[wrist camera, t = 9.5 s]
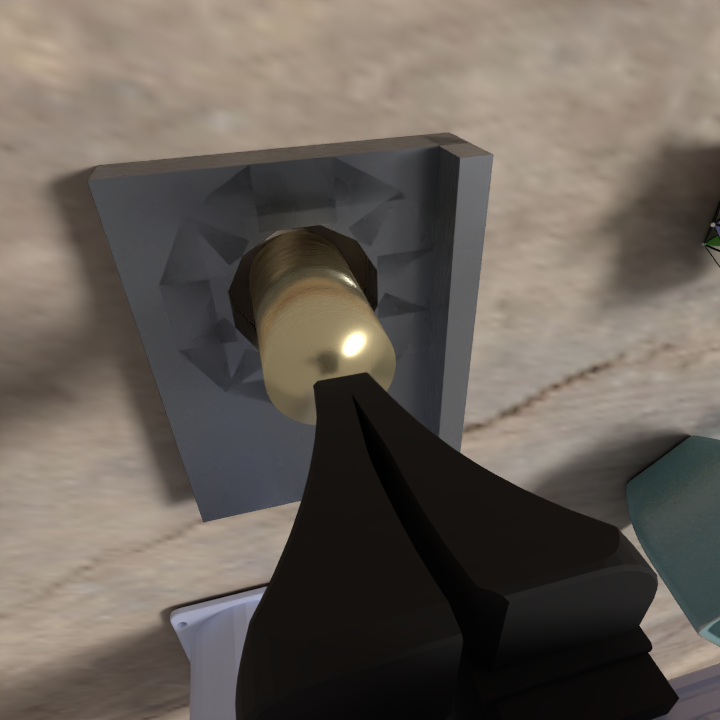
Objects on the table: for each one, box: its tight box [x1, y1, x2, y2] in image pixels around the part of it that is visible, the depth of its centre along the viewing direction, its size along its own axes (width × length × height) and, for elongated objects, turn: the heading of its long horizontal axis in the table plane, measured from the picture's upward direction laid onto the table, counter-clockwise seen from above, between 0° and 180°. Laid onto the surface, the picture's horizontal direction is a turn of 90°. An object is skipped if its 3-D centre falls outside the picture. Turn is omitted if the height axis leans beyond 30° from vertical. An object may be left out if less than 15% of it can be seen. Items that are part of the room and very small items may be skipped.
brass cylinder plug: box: [249, 232, 396, 425], centre depth 16 cm, size 4×4×6 cm
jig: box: [87, 133, 493, 522], centre depth 19 cm, size 14×11×3 cm
